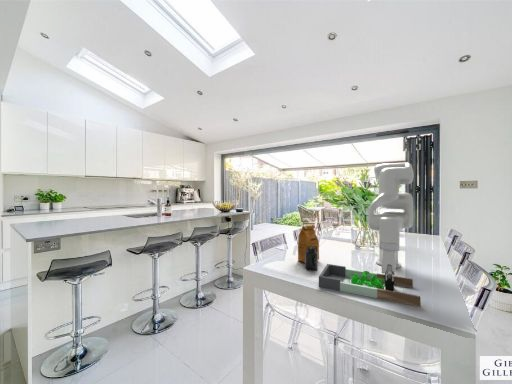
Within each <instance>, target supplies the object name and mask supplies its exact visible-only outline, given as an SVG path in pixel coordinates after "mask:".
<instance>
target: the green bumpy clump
mask: <svg viewBox="0 0 512 384" xmlns="http://www.w3.org/2000/svg"><path fill="white" fill-rule="evenodd" d="M363 271H364V273H366V275H365V274H364V273H363V274H362V276H361V279H360V277H359V276H358V275H357V274H355V275H354V274H353V275H354V277H353V275H352V277H348V283H351V284H356V285H362V286H364V285H366V286H367V287H373V288H378V289H384V290H385V282H384V283H383V282H382V281H381V280H382V279H377V278H376V276H374V275H373V276H372V277H371V280H367V274H369V272H370V271H368V270H363ZM358 277H359V278H358ZM350 280H351V281H350ZM377 280H378V281H377ZM383 281H384V280H383Z"/></svg>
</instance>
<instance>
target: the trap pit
mask: <svg viewBox="0 0 512 384" xmlns="http://www.w3.org/2000/svg"><path fill="white" fill-rule="evenodd" d="M345 269H347V267H346V266H343V265H337V264H330V263H327V264H326V265H325V266H324V269H323V270H322V271H321V272H320V274H319V276H318V287H320V288H324V289H329V290H334V291H338V292H341V291H340V282H344V281H345V279H346V276H345Z"/></svg>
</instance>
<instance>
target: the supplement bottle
mask: <svg viewBox="0 0 512 384" xmlns="http://www.w3.org/2000/svg"><path fill="white" fill-rule="evenodd" d="M315 251H316V247H314V246H308V247H307V251H306V252H305V262H304V268H305V269H306V270H308V271H318V269H319V262H318V261H319V260H318V254H317V252H315Z"/></svg>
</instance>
